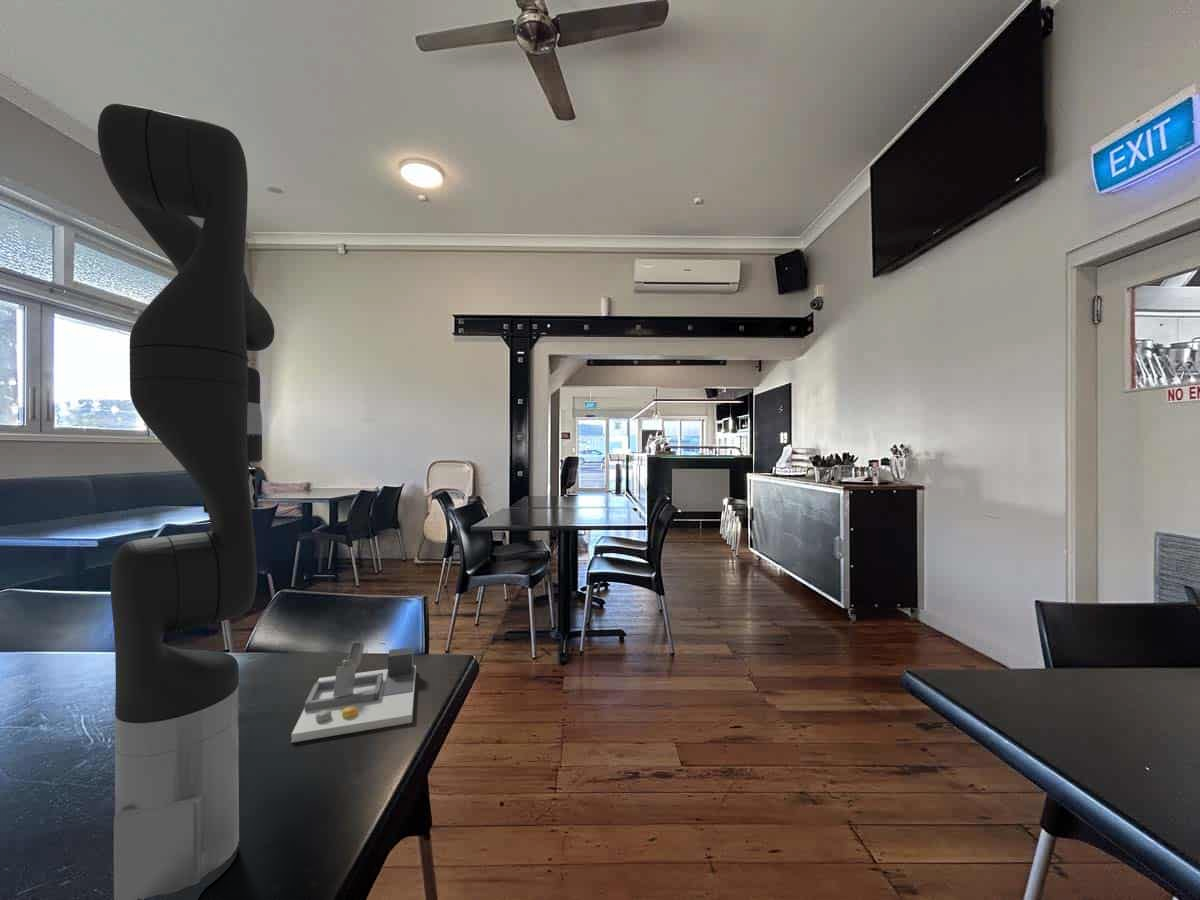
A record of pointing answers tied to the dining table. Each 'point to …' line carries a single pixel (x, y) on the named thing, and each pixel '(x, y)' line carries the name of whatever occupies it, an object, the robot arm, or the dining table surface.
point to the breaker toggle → (400, 661)
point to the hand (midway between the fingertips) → (233, 535)
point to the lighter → (348, 670)
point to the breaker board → (357, 705)
